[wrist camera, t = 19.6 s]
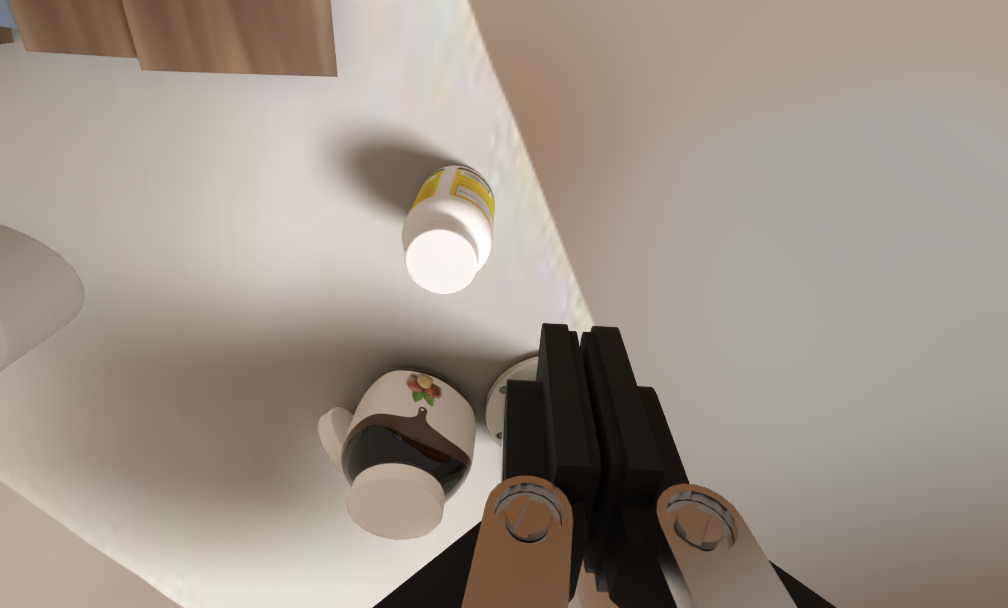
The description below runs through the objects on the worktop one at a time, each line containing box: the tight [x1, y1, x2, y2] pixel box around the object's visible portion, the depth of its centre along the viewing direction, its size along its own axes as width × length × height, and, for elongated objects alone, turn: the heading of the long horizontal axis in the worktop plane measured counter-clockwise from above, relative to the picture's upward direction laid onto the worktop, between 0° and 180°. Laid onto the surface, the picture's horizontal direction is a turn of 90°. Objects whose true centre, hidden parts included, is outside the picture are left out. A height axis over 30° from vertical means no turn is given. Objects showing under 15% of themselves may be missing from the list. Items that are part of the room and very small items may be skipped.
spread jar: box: [318, 368, 476, 540], centre depth 41 cm, size 12×11×12 cm
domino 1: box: [8, 0, 138, 58], centre depth 27 cm, size 2×5×10 cm
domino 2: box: [122, 0, 338, 77], centre depth 27 cm, size 2×5×10 cm
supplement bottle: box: [402, 165, 495, 294], centre depth 31 cm, size 5×5×10 cm
